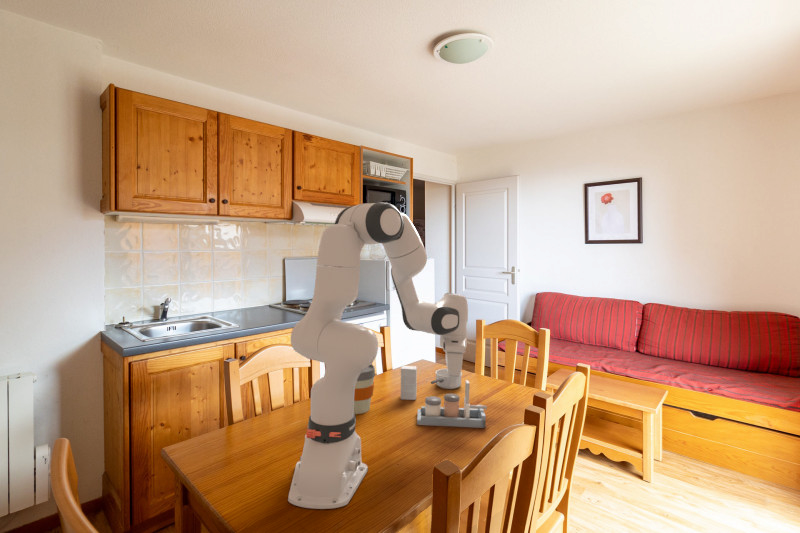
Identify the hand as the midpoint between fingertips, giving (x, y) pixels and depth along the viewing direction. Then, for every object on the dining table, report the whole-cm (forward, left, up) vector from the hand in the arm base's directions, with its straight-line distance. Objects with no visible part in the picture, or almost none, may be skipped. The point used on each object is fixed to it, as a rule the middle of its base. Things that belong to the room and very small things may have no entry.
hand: (451, 382), depth 128 cm
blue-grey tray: (+1, -1, -13) cm, 13 cm away
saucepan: (+30, +1, -14) cm, 33 cm away
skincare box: (+19, +15, -14) cm, 27 cm away
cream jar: (+1, +6, -13) cm, 15 cm away
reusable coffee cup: (+7, +33, -14) cm, 36 cm away
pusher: (+1, -8, -13) cm, 16 cm away
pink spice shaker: (+1, 0, -13) cm, 13 cm away
